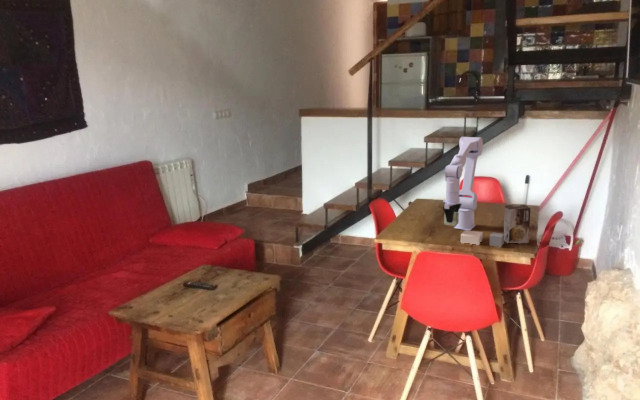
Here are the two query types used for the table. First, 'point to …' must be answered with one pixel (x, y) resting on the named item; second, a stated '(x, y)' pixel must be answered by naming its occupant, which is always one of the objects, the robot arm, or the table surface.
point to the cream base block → (471, 237)
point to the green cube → (454, 221)
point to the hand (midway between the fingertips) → (451, 220)
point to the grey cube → (496, 239)
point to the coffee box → (516, 224)
